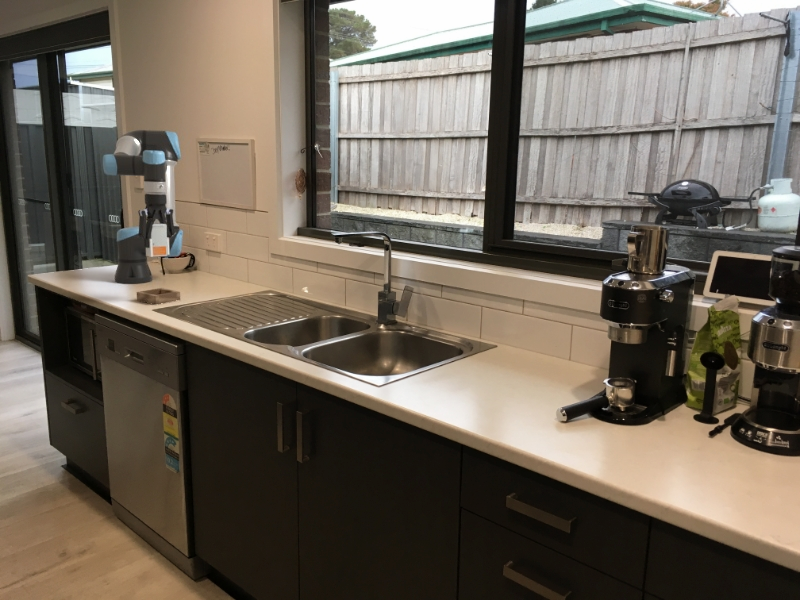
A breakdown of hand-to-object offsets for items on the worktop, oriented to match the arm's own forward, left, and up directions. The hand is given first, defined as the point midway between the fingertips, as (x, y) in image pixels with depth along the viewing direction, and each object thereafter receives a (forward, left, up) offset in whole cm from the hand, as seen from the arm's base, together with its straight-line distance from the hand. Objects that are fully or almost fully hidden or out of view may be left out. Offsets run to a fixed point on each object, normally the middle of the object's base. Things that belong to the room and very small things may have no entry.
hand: (157, 255), depth 240 cm
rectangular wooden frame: (0, 0, -17) cm, 17 cm away
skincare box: (0, 0, 0) cm, 0 cm away
